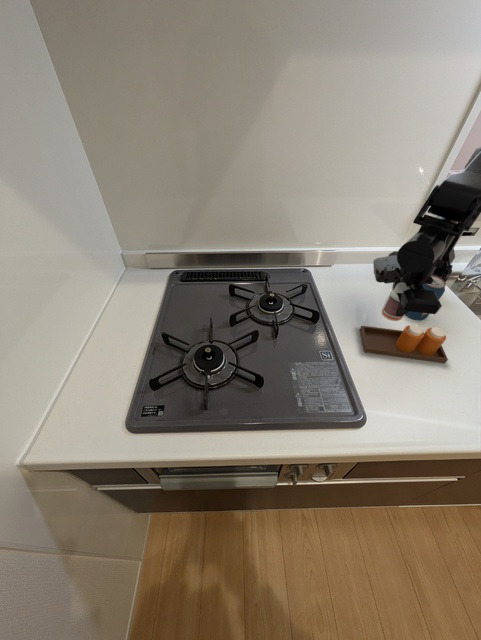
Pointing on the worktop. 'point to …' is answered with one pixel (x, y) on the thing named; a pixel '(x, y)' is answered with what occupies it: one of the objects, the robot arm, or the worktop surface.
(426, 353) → the amber bottle back
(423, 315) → the soda can
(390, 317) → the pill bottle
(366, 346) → the tray
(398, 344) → the amber bottle middle
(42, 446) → the worktop surface
